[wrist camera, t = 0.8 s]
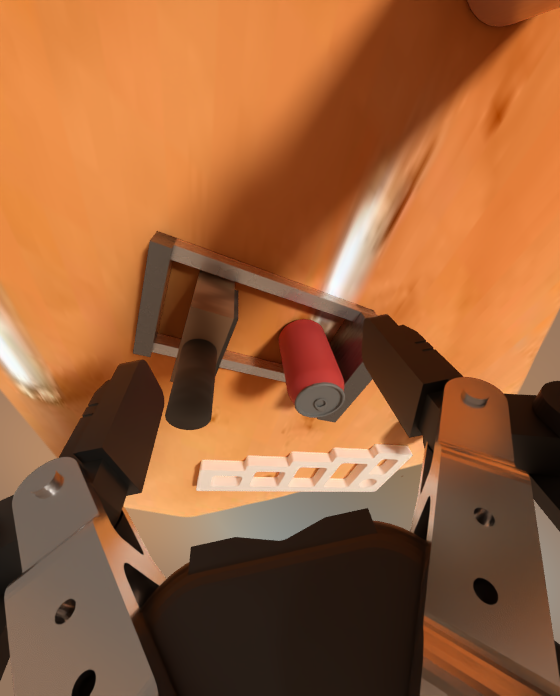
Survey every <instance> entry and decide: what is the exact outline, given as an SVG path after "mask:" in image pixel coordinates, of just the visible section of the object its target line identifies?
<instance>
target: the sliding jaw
mask: <svg viewBox="0 0 560 696" xmlns="http://www.w3.org/2000/svg"><path fill="white" fill-rule="evenodd" d="M237 321H238V290H235V281H232V280H229V279H226V278H223V277H220V276H217V275H214V274H211V273H208V272H205V271H202V270H200V273H199V276H198V280H197V284H196V287H195V291H194V295H193V298H192V302H191V306H190V309H189V313H188V317H187V320H186V324H185V328H184V331H183V335H182V339H181V342H180V346H179V350H178V354H177V358H176V361H175V365H174V369H173V373H172V376H171V380H170V381H171V382H173V386H172V390H171V394H170V398H169V402H168V406H167V410H166V414H165V417H166V420H167V421H168V423H169V424H171V425H172V426H174V427H176V428H179V429H184V430H195V429H199V428H202V427H204V426H206V425H207V424H208V423H209V422H210V420H211V415H212V404H213V393H214V383H215V376H216V373H217V371H218V368H219V366H220V363H221V361H222V358H223V356H224V353H225V351H226V348H227V346H228V343H229V341H230V338H231V336H232V333H233V331H234V328H235V326H236V323H237Z"/></svg>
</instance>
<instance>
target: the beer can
mask: <svg viewBox="0 0 560 696" xmlns="http://www.w3.org/2000/svg"><path fill="white" fill-rule="evenodd" d="M278 341H279V347H280V353H281V358H282V364H283V369H284V374H285V380H286V385H287V391H288V395H289V397H290V399H291V400H292V402H293V403H294V405H295V408H296V410H297V411H298V413H300V414H302V415H303V416H307V417H314V418H318V417H324V416H327V415H329V414H332V413H333V412H335V411H337V410H338V409H339V408H340V407H341V406H342V404H343V402H344V400H345V394H344V379H343V376H342V374H341V372H340V369H339V367H338V364H337V362H336V359H335V357H334V355H333V352H332V350H331V347H330V345H329V342H328V340H327V338H326V335H325V333H324V330H323V328H322V327H321V326H320V325H319V324H318V323H316V322H314V321H312V320H306V319H302V320H296V321H294V322H292V323H289V324H288V325H287V326H286V327H284V329H283V330H282V332H281V333H280V336H279V340H278Z"/></svg>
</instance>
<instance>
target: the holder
mask: <svg viewBox="0 0 560 696" xmlns="http://www.w3.org/2000/svg"><path fill="white" fill-rule="evenodd" d="M412 456H413V455H412V453H411V451H410V449H409V447H408V446H404V445H386V444H374V445H373V446H372V448H371V449H351V448H333V449H332V450H331V452H330V453H314V452H290V454H289V456H288V457H273V456H247V457H246V460H245V461H226V460H201V464H200V469H199V475H198V480H197V488H196V490H197V491H328V492H329V491H330V492H333V491H335V492H341V491H342V492H375V491H376V490H377V489H378V488H379V487H380V486H381V485H383V484H384V483H385V482H386V481H387V480H388V479H389V478H390V477H391V476H392V475H393V474H394V473H395V472H396V471H397V470H398V469H399V468H400V467H401V466H402V465H403V464H404V463H405V462H406V461H407V460H409V459H410V458H411V457H412ZM383 459H387V460H386V461H385V462H384V463H383V464H382V465H381V466H376V465H377V464H378V463H379V462H380V461H381V460H383ZM343 463H356V464H357V465H356V467H355V468H354V469H353V470H352V471H351V472H350V474H349V475H348V476H347V477H346V478H344V479H331V478H330V477H331V476H332V475H333V473H334V472H335V471H336V470H337V468H338V467H339V466H340V465H341V464H343ZM301 467H312V468H319V469H318V471H317V472H316V474H315V475H314V476H313V477H312V478H293V477H294V475H295V474H296V472H297V470H298V469H299V468H301ZM256 472H280V473H279V475H278V476H277V477H253V476H254V474H255V473H256ZM228 476H237V477H228Z"/></svg>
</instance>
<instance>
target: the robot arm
mask: <svg viewBox="0 0 560 696" xmlns="http://www.w3.org/2000/svg"><path fill="white" fill-rule="evenodd" d="M467 2H468V4H469V6H470V8H471V10H472V12H473V13H474V14H475V15H476V17H477V18H478V19H479V20H480V21H482V22H484V23H486V24H487V25H489V26H498V27H502V26H507V25H511V24H515V23H517V22H520V21H523V20H526V19H528V18H531V17H534V16H537V15H539V14H542V13H545V12H548V11H550V10H553V9H557V8H559V7H560V0H467ZM362 359H363V363H364V365H365V367H366V369H367V371H368V372H369V374H370V375H371V377H372V379H373V380H374V382H375V384H376V385H377V387H378V388H379V390H380V392H381V393H382V395H383V396H384V398H385V400H386V401H387V403H388V404H389V406H390V408H391V409H392V411H393V412H394V414H395V416H396V417H397V419H398V420H399V422H400V424H401V425H402V427H403V428H404V430H405V432H406V433H407V435H408V436H409V438H411V437H415V436H420V435H423V437H424V438H425V440H426V441H427V443H426V446H425V452H424V458H423V465H422V472H421V478H420V484H419V491H418V498H417V503H416V507H415V511H414V515H413V520H412V525H411V530H410V531H408V530H405V529H403V528H401V527H398V526H395V525H392V524H388V523H384V522H380V521H373V520H372V518H371V515H370V513H369V510H368V508H367V509H361V510H357V511H352V512H348V513H344V514H339V515H334V516H330V517H326V518H323V519H322V520H320V521H318V522H316V523H315V524H313V525H311V526H309V527H307V528H305V529H304V530H302V531H300V532H298V533H297V534H295V535H293V536H291V537H290V538H288V539H285V540H282V541H274V540H262V539H250V538H239V537H234V538H230V539H225V540H220V541H216V542H211V543H207V544H202V545H198V546H193V547H191V553H190V562H189V563H187V564H185V565H184V566H183V567H181V568H180V569H178V570H177V571H175V572H174V573H173V574H172V575H171V576H169V577H168V578H167V579H166V578H165V576H164V575H163V573H162V572H161V571H160V570H159V568H158V567H157V566H156V564H155V563H154V561H153V560H152V558H151V557H150V555H149V553H148V551H147V549H146V547H145V545H144V544H143V541H142V540H141V537H140V535H139V533H138V532H137V530H136V528H135V526H134V524H133V522H132V520H131V518H130V516H129V514H128V512H127V511H126V509H125V508H124V507H123V505H124V501H125V498H126V496H128V495H133V494H138V493H142V489H143V485H144V482H145V478H146V474H147V470H148V466H149V462H150V458H151V455H152V451H153V447H154V443H155V439H156V435H157V431H158V428H159V424H160V420H161V416H162V412H163V408H164V395H163V392H162V389H161V387H160V386H159V384H158V382H157V380H156V378H155V376H154V374H153V373H152V371H151V369H150V367H149V365H148V364H147V362H146V361H145V360H138V361H132V362H127V363H122V364H119V365H118V367H117V369H116V371H115V373H114V375H113V377H112V379H111V380H108V381H106V382H105V383H104V384H103V385H102V386H101V387H100V388H99V389H98V390H97V391H96V392H95V394H94V395H93V397H92V399H91V401H90V403H89V404H88V406H89V407H87V408H86V410H85V412H84V413H83V415H82V416H83V418H81V419H80V421H79V422H78V424H77V426H76V428H75V429H74V431H73V433H72V435H71V437H70V438H69V440H68V442H67V444H66V446H65V447H64V449H63V451H62V453H61V454H60V456H59V458H57V459H54V460H51V461H49V462H47V463H45V464H44V465H42V466H40V467H39V468H37V469H36V470H35V471H34V472H32V473H31V474H30V475H29V476H28V477H27V478H26V479H25V480H24V481H23V482H22V484H21V485H20V486H19V487H18V489H17V490H16V492H15V494H14V495H12V496H10V497H8V498H6V499H4V500H1V501H0V680H1V678H2V675H3V673H4V670H5V668H6V665H7V663H8V660H9V658H10V660H11V670H12V678H13V689H14V696H560V644H558V643H557V642H556V641H554V637H553V630H552V623H551V616H550V610H549V603H548V596H547V589H546V582H545V575H544V568H543V561H542V554H541V548H540V541H539V534H538V527H537V520H536V513H535V506H534V500H535V501H536V503H537V504H538V505H539V506H540V508H541V509H542V510H543V511H544V513H545V514H546V515H547V516H548V518H549V519H550V520H551V521H552V522H553V524H554V525H555V526H556V528H557V529H558V530H559V531H560V381H553V382H549V383H546V384H545V385H544V386H543V387H542V389H541V390H540V392H539V393H538V395H537V396H536V395H517V394H503V393H502V392H501V391H500V390H499V389H498V388H497V387H495V386H494V385H492V384H490V383H488V382H486V381H483V380H480V379H476V378H471V377H463V376H462V375H461V374H460V373H459V372H458V371H457V370H456V369H455V368H454V367H453V366H452V365H451V364H450V363H449V362H448V361H447V360H446V359H445V358H444V357H443V356H441V355H440V354H439V353H438V352H437V351H436V350H434V349H433V347H432V346H431V345H430V344H429V343H428V342H426V340H425V339H424V338H423V337H422V336H421V335H420V334H419V333H418V332H417V331H415V330H413V329H411V328H409V327H407V326H405V325H400V326H398V325H397V324H396V323H395V322H394V321H393V319H392V318H391V317H390V316H389V315H387V314H385V315H380V316H374V317H369V318H366V319H365V320H364V324H363V340H362Z"/></svg>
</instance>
